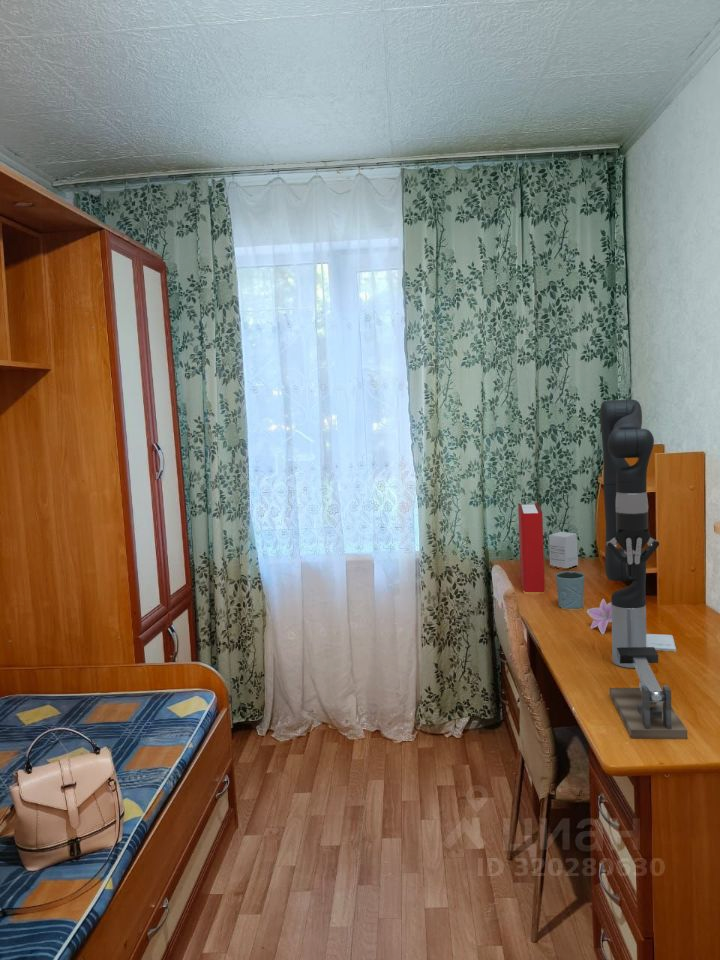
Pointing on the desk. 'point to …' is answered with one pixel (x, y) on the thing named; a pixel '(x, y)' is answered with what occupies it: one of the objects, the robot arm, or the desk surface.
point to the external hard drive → (660, 642)
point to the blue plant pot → (570, 589)
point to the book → (531, 547)
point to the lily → (601, 616)
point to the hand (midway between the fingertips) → (632, 578)
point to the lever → (643, 668)
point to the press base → (647, 714)
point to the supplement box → (563, 549)
